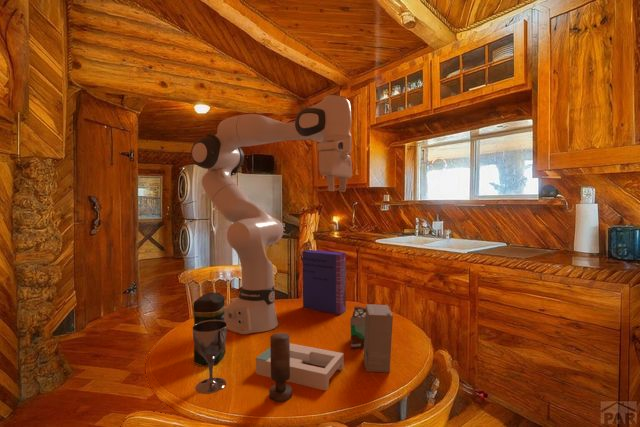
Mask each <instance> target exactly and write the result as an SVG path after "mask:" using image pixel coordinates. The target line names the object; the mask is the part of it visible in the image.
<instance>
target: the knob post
mask: <svg viewBox="0 0 640 427" xmlns="http://www.w3.org/2000/svg"><path fill="white" fill-rule="evenodd" d="M269 339H270V341H269V342H270V347H269V348H270V350H271V377H270V379H271V380H270V381H272V382H275V384H274V385H272V386H270V388H269V390H268V391H269V392H268V393H269V399H270V400H271V401H272V402H275V403H284V402H287V401H289V400H290V399H292V397H293V388H292V386H291V385H290V384H287V382H288V381H287V380H288V379H289V378H290V343H291V342H290V339H291V338H290V334H288V333H286V332H277V333H273V334H272V335H270V336H269Z"/></svg>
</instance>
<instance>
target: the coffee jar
mask: <svg viewBox="0 0 640 427" xmlns="http://www.w3.org/2000/svg"><path fill="white" fill-rule="evenodd" d="M225 301H226V300H225V296H224V295H223V294H222V293H221V292H206V293H205V294H203V295H201V296H200V297H198V298H196V299H195V301H194V302H193V308H192V309H193V326H194V325H195V324H197V323H199V322H202V321H207V320H222V321H224V311H225V307H226V305H225V304H226V303H225ZM225 355H226V344H225V345H224V348H223V349H222V351H221V352H220V353H219V355H218V356H217V357H216V359H215V361H214V364H218V363H220V362H221V360H222V359H223V358H224V357H225ZM193 361H194V363H195V364H196V365H200V366H208V363H207V361H206V360H205V359H204V358H203V357H202V356H201V355H200V354H199V353H198V352H197V351H196V348H195V345H194V344H193ZM214 364H213V365H214Z"/></svg>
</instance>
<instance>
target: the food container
mask: <svg viewBox="0 0 640 427" xmlns="http://www.w3.org/2000/svg"><path fill="white" fill-rule="evenodd" d="M365 319H366V307H364V306H359V305H358V306H357V305H354V310H353V312H352V317H350V323H349V324H350V349H351V350H361V349H364V337H365Z"/></svg>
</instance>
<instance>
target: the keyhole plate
mask: <svg viewBox="0 0 640 427" xmlns="http://www.w3.org/2000/svg"><path fill="white" fill-rule="evenodd" d="M344 356H345V355H344V353H343V352H339V351H338V352H337V351H335V350H334V351H333V350H328V349H321V348H318V347H312V346H306V345H302V344H301V345H300V344H296V343H291V342H290V378H289V379H288V380H287V381H286V382H288V383H293V384H297V385H301V386H305V387H309V388H314V389H318V390H321V391H325V392H327V391H328V390H329V388H330V387H329V386H330V378H332V376H333V375H334V374H335V373H336V371H337V370H339V371H343V370H344V368H345V367H344V366H345V360H344V359H345V357H344ZM310 364H311V365H310ZM255 374H256V375H259V376H264V377H267V378H271V350H270V347H269V348H267V349H266V350H265V351H263V352H262V353H260V354H259V355H258V356H256V358H255Z"/></svg>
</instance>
